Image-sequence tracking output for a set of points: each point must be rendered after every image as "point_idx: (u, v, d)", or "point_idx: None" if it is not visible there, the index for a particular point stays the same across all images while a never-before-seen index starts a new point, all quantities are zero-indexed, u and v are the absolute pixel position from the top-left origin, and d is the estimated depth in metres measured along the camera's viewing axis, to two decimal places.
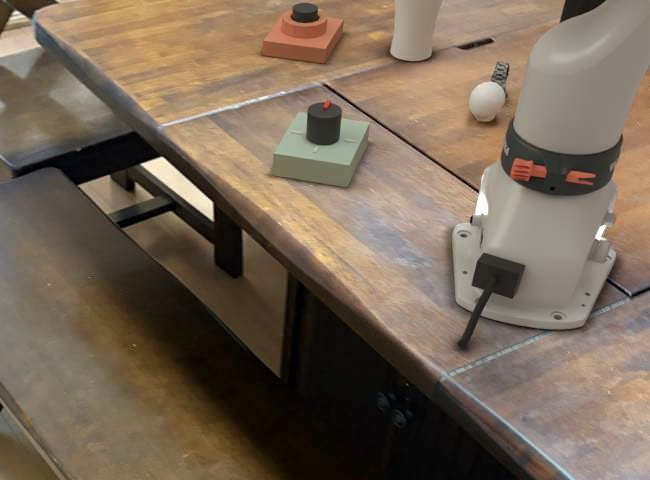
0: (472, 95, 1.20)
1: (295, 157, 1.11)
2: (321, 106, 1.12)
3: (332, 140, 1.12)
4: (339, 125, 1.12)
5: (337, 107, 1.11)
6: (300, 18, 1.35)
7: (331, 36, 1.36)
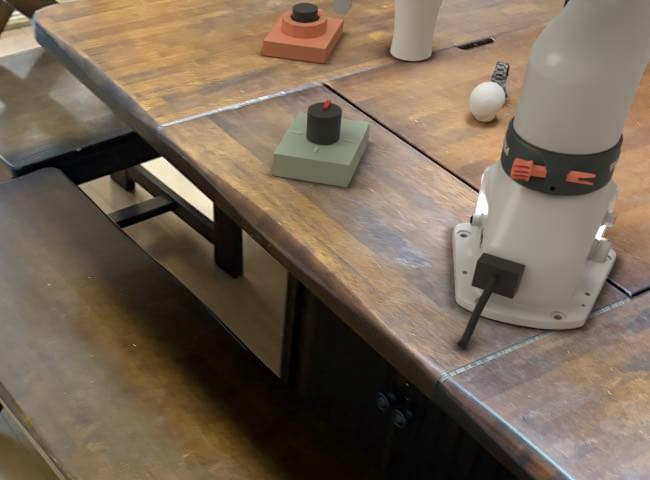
0: (472, 95, 1.20)
1: (295, 157, 1.11)
2: (321, 106, 1.12)
3: (332, 140, 1.12)
4: (339, 125, 1.12)
5: (337, 107, 1.11)
6: (300, 18, 1.35)
7: (331, 36, 1.36)
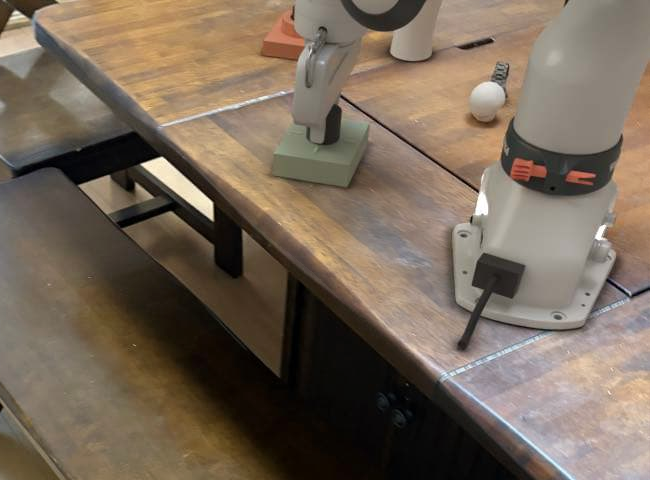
0: (472, 95, 1.20)
1: (295, 157, 1.11)
2: None
3: (332, 140, 1.12)
4: (339, 125, 1.12)
5: (337, 107, 1.11)
6: None
7: None
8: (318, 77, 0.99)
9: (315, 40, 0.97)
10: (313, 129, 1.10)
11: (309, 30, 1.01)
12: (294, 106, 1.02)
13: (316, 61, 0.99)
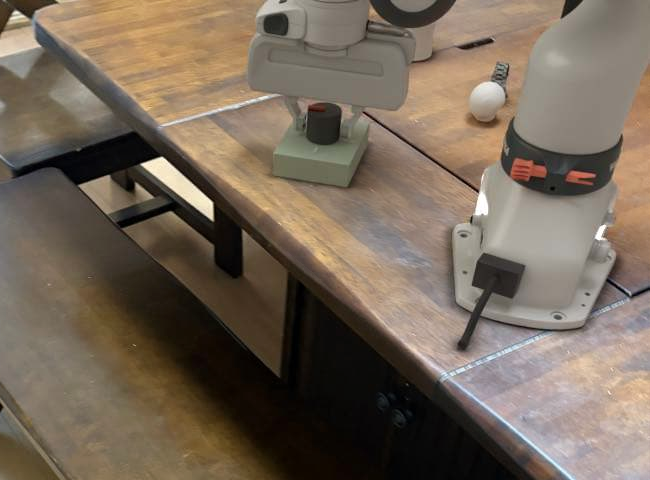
0: (472, 95, 1.20)
1: (295, 157, 1.11)
2: (317, 111, 1.11)
3: None
4: None
5: (318, 103, 1.12)
6: None
7: None
8: None
9: None
10: (353, 125, 1.11)
11: (361, 31, 1.01)
12: (404, 91, 1.05)
13: None
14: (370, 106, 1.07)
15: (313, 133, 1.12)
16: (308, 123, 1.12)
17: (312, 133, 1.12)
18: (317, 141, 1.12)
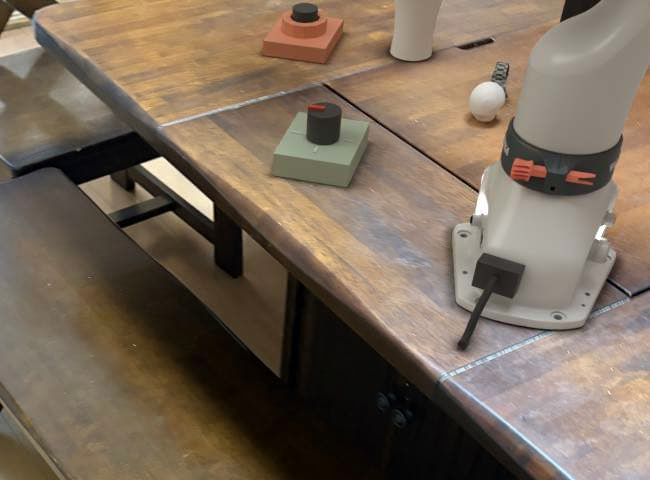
0: (472, 95, 1.20)
1: (295, 157, 1.11)
2: (317, 111, 1.11)
3: None
4: None
5: (318, 103, 1.12)
6: (300, 18, 1.35)
7: (331, 36, 1.36)
8: None
9: None
10: None
11: None
12: None
13: None
14: None
15: (313, 133, 1.12)
16: (308, 123, 1.12)
17: (312, 133, 1.12)
18: (317, 141, 1.12)
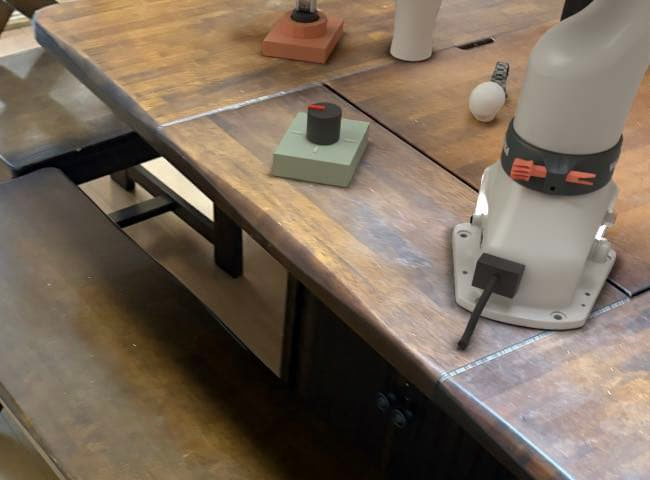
0: (472, 95, 1.20)
1: (295, 157, 1.11)
2: (317, 111, 1.11)
3: None
4: None
5: (318, 103, 1.12)
6: (300, 22, 1.35)
7: (331, 36, 1.36)
8: None
9: None
10: (314, 0, 1.34)
11: None
12: None
13: None
14: None
15: (313, 133, 1.12)
16: (308, 123, 1.12)
17: (312, 133, 1.12)
18: (317, 141, 1.12)
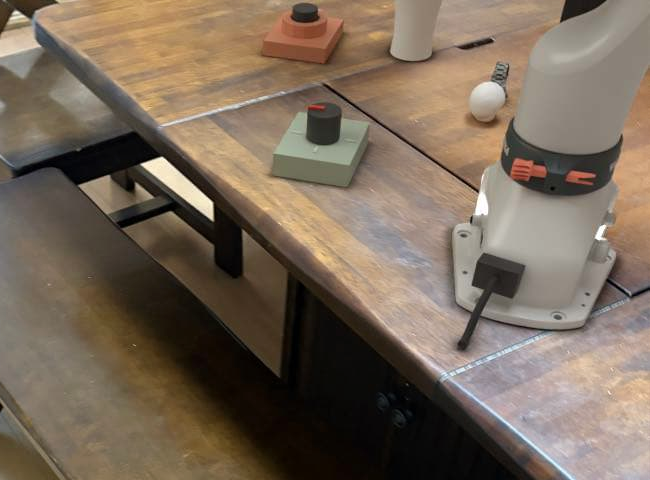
0: (472, 95, 1.20)
1: (295, 157, 1.11)
2: (317, 111, 1.11)
3: None
4: None
5: (318, 103, 1.12)
6: (300, 18, 1.35)
7: (331, 36, 1.36)
8: None
9: None
10: None
11: None
12: None
13: None
14: None
15: (313, 133, 1.12)
16: (308, 123, 1.12)
17: (312, 133, 1.12)
18: (317, 141, 1.12)
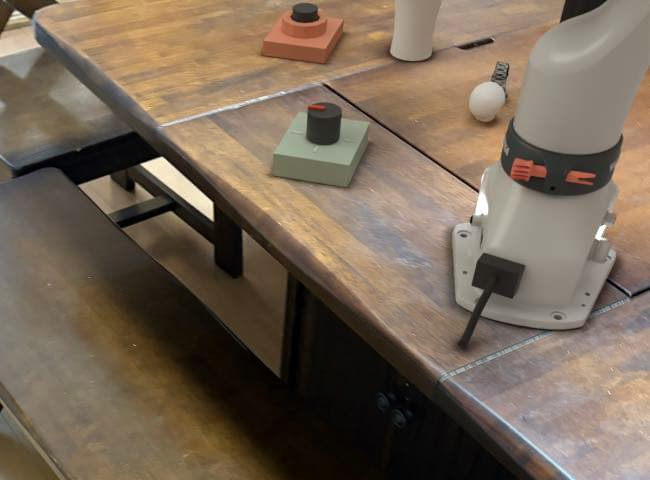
0: (472, 95, 1.20)
1: (295, 157, 1.11)
2: (317, 111, 1.11)
3: None
4: None
5: (318, 103, 1.12)
6: (300, 18, 1.35)
7: (331, 36, 1.36)
8: None
9: None
10: None
11: None
12: None
13: None
14: None
15: (313, 133, 1.12)
16: (308, 123, 1.12)
17: (312, 133, 1.12)
18: (317, 141, 1.12)
